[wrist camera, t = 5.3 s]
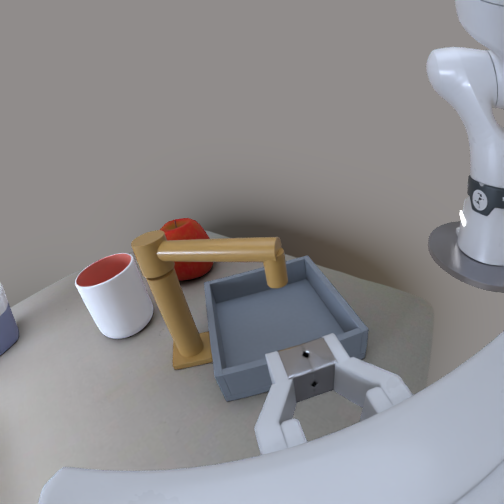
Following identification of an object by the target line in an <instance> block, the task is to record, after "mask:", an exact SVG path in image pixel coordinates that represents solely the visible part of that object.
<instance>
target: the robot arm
mask: <svg viewBox="0 0 504 504" xmlns="http://www.w3.org/2000/svg"><path fill="white" fill-rule="evenodd" d="M455 5H456V10H457V16H458V19H459V21H460V23H461V25H462V26H463V28H464V29H465V30H466V31H467V32H468V33H469V34H470V35H471V36H472V37H473V38H474V39H475V40H477V41H478V42H479V43H481V44H482V45H484V46H485V47H487V48H489V49H490V50H478V49H470V48H461V47H448V48H440V49H435V50H433V51H432V52H431V53H430V55H429V57H428V60H427V75H428V78H429V81H430V83H431V85H432V87H433V88H434V89H435V91H436V92H437V93H438V94H439V95H440V96H441V97H442V98H443V99H444V100H446V101H447V102H448V103H449V104H450V105H451V106H452V107H453V108H454V109H455V110H456V112H457V113H458V115H459V116H460V118H461V119H462V121H463V123H464V126H465V128H466V131H467V134H468V139H469V146H470V161H471V172H470V173H471V174H470V176H469V179H468V185H467V186H468V195H469V196H468V197H467V198H466V199H465V201H464V206H463V212H462V211H460V217H461V223H460V227H457V229H456V234H457V236H458V240H457V244H458V246H459V248H460V249H461V250H462V251H463V252H464V253H465V254H466V255H468V256H469V257H471V258H473V259H475V260H477V261H479V262H482V263H485V264H489V265H495V266H504V128H503V127H502V126H500V125H499V124H498V123H497V122H496V120H495V118H494V115H493V112H492V108H499V109H504V0H455ZM265 356H266V361H267V365H268V370H269V373H270V377H271V381H272V385H271V388H270V391H269V393H268V396H267V398H266V401H265V403H264V406H263V408H262V411H261V413H260V415H259V418H258V420H257V423H256V425H255V427H254V430H255V434H256V438H257V441H258V445H259V449H260V453H261V455H260V456H255V457H251V458H246V459H242V460H237V461H231V462H226V463H220V464H214V465H207V466H199V467H191V468H181V469H169V470H150V471H115V470H96V469H84V468H75V467H63V468H61V469H60V470H59V471H58V472H57V473H56V474H55V475H54V476H53V477H52V478H51V479H50V480H49V481H48V482H47V483H46V484H45V485H44V487H43V489H42V491H41V495H40V498H39V504H504V331H503V332H502V333H501V334H499V335H498V336H497V337H496V338H495V339H494V340H492V341H491V342H490V343H489V344H487V345H486V346H485V347H484V348H483V349H481V350H480V351H479V352H478V353H476V354H475V355H474V356H472V357H471V358H470V359H468V360H467V361H465V362H464V363H463V364H461V365H460V366H458V367H457V368H456V369H454V370H453V371H451V372H450V373H448V374H447V375H445V376H444V377H443V378H441V379H440V380H438V381H436V382H434V383H433V384H431V385H430V386H428V387H426V388H425V389H423V390H421V391H420V392H418V393H416V394H414V395H413V394H412V393H411V391H410V390H409V389H408V387H407V386H406V384H405V383H404V382H403V380H402V379H401V378H400V376H399V375H397V374H395V373H392V372H389V371H387V370H384V369H382V368H379V367H377V366H374V365H372V364H370V363H367V362H365V361H362V360H360V359H358V358H355V357H351V358H350V357H349V355H348V354H347V352H346V351H345V349H344V348H343V346H342V344H341V343H340V341H339V340H338V338H337V337H336V335H335V334H333V333H331V334H329V335H326V336H323V337H320V338H317V339H314V340H311V341H308V342H305V343H302V344H300V345H296V346H293V347H289V348H286V349H282V350H278V351H275V352H271V353H268V354H265ZM332 390H334V391H335V392H337V393H338V394H340V395H342V396H343V397H345V398H347V399H348V400H350V401H352V402H353V403H355V404H357V405H358V406H360V407H362V408H363V410H362V413H361V417H360V421H359V422H358V423H356V424H354V425H351V426H349V427H347V428H344V429H342V430H339V431H337V432H334V433H331V434H329V435H326V436H323V437H320V438H318V439H315V440H312V441H309V442H307V440H306V438H305V435H304V433H303V430H302V428H301V425H300V423H299V420H298V419H294V418H293V415H294V411H295V407H296V403H297V402H300V401H303V400H305V399H308V398H311V397H314V396H317V395H320V394H323V393H326V392H329V391H332ZM292 418H293V419H292Z"/></svg>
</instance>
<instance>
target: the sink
mask: <svg viewBox="0 0 504 504" xmlns="http://www.w3.org/2000/svg"><path fill="white" fill-rule="evenodd" d="M285 262H286V269H287V276H288V283H287V285H285V286H284V287H282V288H271V287H269V286H268V285H267V280H266V274H265V269H264V267H263V268H259V269H255V270H251V271H247V272H244V273H240V274H236V275H232V276H228V277H224V278H220V279H216V280H212V281H210V282H209V281H208V282H204V288H205V298H206V308H207V317H208V326H209V335H210V343H211V352H212V359H213V367H214V374H215V378H216V380H217V383H218V385H219V387H220V389H221V391H222V393H223V395H224V397H225V399H226V401H232V400H236V399H240V398H245V397H249V396H253V395H257V394H260V393H264V392H268V391H270V388H271V385H272V381H271V377H270V373H269V370H268V365H267V361H266V356H265V354H268V353H271V352H275V351H278V350H282V349H286V348H289V347H293V346H296V345H300V344H302V343H305V342H308V341H311V340H314V339H317V338H320V337H323V336H326V335H329V334H331V333H333V334H335V335H336V337H337V338H338V340H339V341H340V343H341V344H342V346H343V348H344V349H345V351H346V352H347V354H348V355H349V357H350V358H351V357H355V358H358V359H360V360H361V359H363V358H365V354H366V347H367V340H368V331H369V329H368V328H367V327H366V325H365V324H364V323H363V322H362V320H361V319H360V318H359V317H358V315H357V314H356V313H355V312H354V310H353V309H352V308H351V307H350V306H349V304H348V303H347V302H346V301H345V299H344V298H343V297H342V296H341V295H340V293H339V292H338V291H337V290H336V289H335V287H334V286H333V285H332V284H331V283H330V281H329V280H328V279H327V278H326V277H325V275H324V274H323V273H322V272H321V271H320V269H319V268H318V267H317V266H316V265H315V264H314V262H313V261H312V260H311V259H310V258H309V257H308V256H304V257H300V258H297V259H293V260H289V261H285Z"/></svg>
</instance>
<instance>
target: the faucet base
mask: <svg viewBox="0 0 504 504" xmlns="http://www.w3.org/2000/svg"><path fill="white" fill-rule="evenodd" d="M146 279H147V282H148V284H149V286H150V289H151V291H152V294H153V296H154V298H155V301H156V303H157V305H158V307H159V310H160V312H161V314H162V316H163V319H164V321H165V323H166V325H167V327H168V329H169V331H170V334H171V336H172V338H173V367H174V369H175V370H177V369H182V368H187V367H192V366H197V365H201V364H206V363H210V362H213V359H212V352H211V343H210V335H209V331H208V332H204V333H200V334H199V332H198V330H197V327H196V325H195V322H194V320H193V317H192V315H191V312H190V310H189V307H188V304H187V302H186V299H185V296H184V294H183V291H182V288H181V286H180V283H179V280H178V277H177V274H176V272H175V269H174V267H173V269H172V270H171V271H169V272H168V273H166V274H164V275H162V276H159V277H156V278H146Z"/></svg>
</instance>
